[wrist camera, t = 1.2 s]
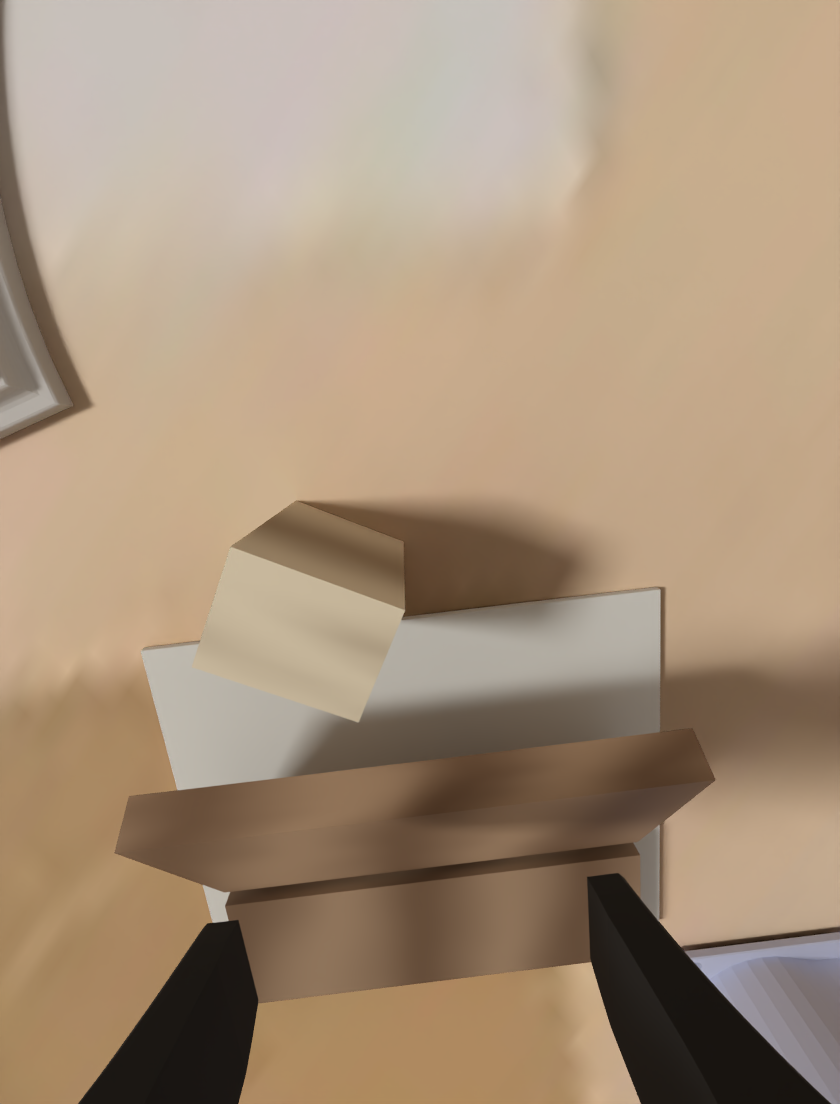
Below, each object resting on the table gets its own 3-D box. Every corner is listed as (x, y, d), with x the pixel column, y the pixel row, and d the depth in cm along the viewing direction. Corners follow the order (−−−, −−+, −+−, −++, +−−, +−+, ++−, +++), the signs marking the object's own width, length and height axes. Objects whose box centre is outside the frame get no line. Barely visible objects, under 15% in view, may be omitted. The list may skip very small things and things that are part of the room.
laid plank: (623, 825, 21) (640, 855, 20) (625, 921, 22) (641, 955, 21) (237, 872, 21) (224, 905, 19) (260, 966, 22) (250, 1004, 21)
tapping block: (269, 577, 18) (296, 500, 18) (373, 615, 19) (403, 541, 18) (191, 667, 11) (230, 546, 11) (358, 722, 12) (405, 610, 11)
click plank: (692, 727, 14) (715, 780, 14) (624, 802, 21) (637, 841, 20) (129, 796, 14) (114, 852, 13) (229, 851, 20) (224, 892, 20)
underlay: (656, 586, 19) (660, 589, 19) (655, 919, 23) (659, 926, 22) (144, 647, 19) (140, 651, 18) (230, 972, 22) (227, 979, 22)
